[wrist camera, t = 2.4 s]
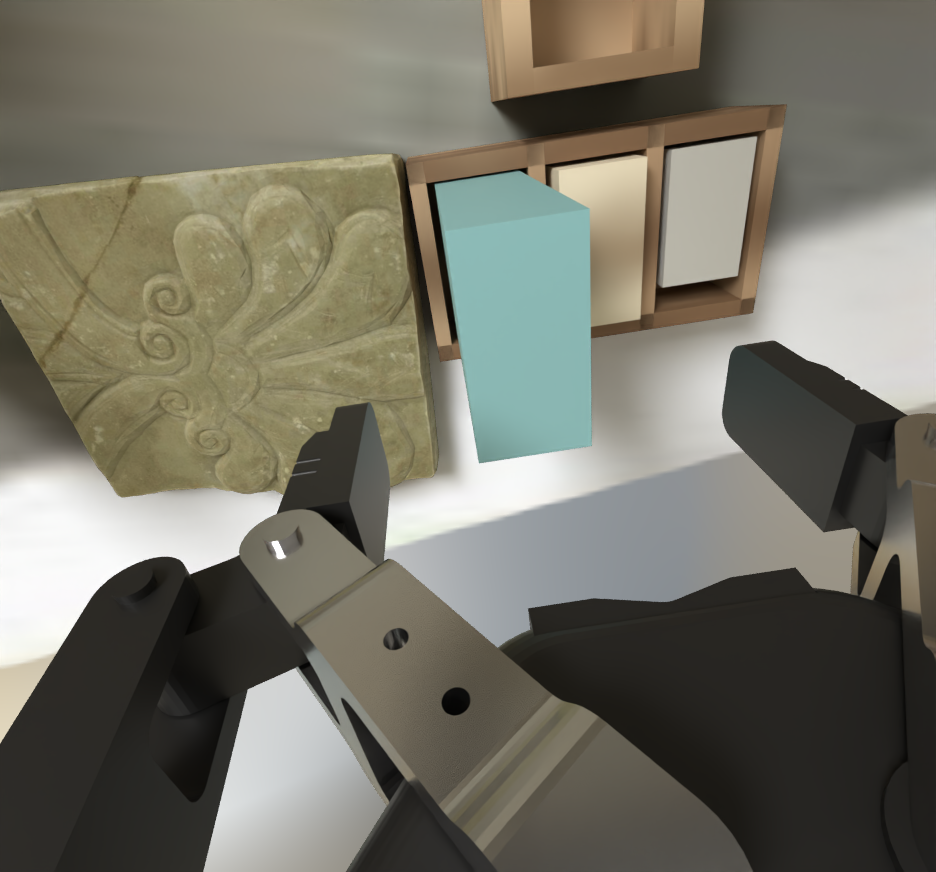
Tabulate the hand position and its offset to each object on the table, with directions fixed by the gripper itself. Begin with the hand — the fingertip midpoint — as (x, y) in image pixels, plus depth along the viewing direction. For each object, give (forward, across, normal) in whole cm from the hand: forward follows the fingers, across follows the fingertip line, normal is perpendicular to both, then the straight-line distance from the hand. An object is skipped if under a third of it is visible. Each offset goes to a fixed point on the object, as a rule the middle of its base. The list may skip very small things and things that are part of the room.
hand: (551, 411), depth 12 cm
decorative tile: (+19, +14, +4) cm, 24 cm away
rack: (+18, -5, 0) cm, 19 cm away
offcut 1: (+17, -5, 0) cm, 18 cm away
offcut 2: (+17, -10, -1) cm, 20 cm away
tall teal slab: (+17, 0, 0) cm, 17 cm away
